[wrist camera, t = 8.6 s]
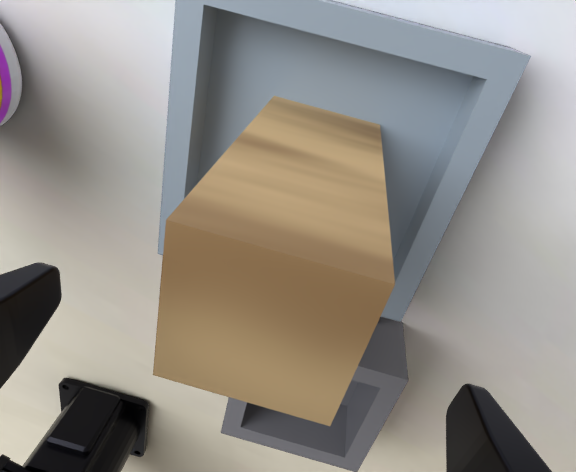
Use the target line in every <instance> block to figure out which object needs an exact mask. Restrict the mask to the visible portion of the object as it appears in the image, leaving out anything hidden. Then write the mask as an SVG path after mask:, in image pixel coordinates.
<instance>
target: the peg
mask: <svg viewBox="0 0 576 472" xmlns="http://www.w3.org/2000/svg"><path fill="white" fill-rule="evenodd" d="M394 286H395V278H394V267H393V257H392V246H391V235H390V225H389V214H388V204H387V193H386V182H385V172H384V161H383V151H382V140H381V129H380V125H379V124H376V123H372V122H368V121H365V120H361V119H357V118H354V117H350V116H347V115H343V114H339V113H336V112H332V111H328V110H325V109H321V108H317V107H314V106H310V105H306V104H303V103H299V102H295V101H292V100H288V99H284V98H281V97H277V96H273V98H272V99H271V100H270V101H269V102H268V103H267V104H266V106H265V107H264V108H263V109H262V110H261V111H260V112H259V114H258V115H257V116H256V117H255V118H254V119H253V121H252V122H251V123H250V124H249V125H248V126H247V127H246V129H245V130H244V131H243V132H242V133H241V134H240V135H239V137H238V138H237V139H236V140H235V141H234V142H233V143H232V145H231V146H230V147H229V148H228V149H227V150H226V152H225V153H224V154H223V155H222V156H221V157H220V158H219V160H218V161H217V162H216V163H215V164H214V165H213V166H212V168H211V169H210V170H209V171H208V172H207V173H206V175H205V176H204V177H203V178H202V179H201V180H200V181H199V183H198V184H197V185H196V186H195V187H194V188H193V189H192V191H191V192H190V193H189V194H188V195H187V196H186V197H185V199H184V200H183V201H182V202H181V203H180V204H179V206H178V207H177V208H176V209H175V210H174V211H173V212H172V214H171V215H170V216H169V217H168V218H167V219H166V226H165V238H164V250H163V262H162V274H161V286H160V298H159V310H158V322H157V333H156V345H155V357H154V369H153V375H155V376H158V377H162V378H165V379H169V380H172V381H175V382H179V383H182V384H186V385H189V386H193V387H196V388H200V389H203V390H206V391H210V392H213V393H217V394H220V395H224V396H227V397H231V398H234V399H237V400H241V401H244V402H248V403H251V404H255V405H258V406H262V407H265V408H268V409H272V410H275V411H279V412H282V413H286V414H289V415H293V416H296V417H299V418H303V419H306V420H310V421H313V422H317V423H320V424H324V425H327V426H331V423H332V421H333V419H334V417H335V415H336V412H337V410H338V408H339V406H340V404H341V402H342V399H343V397H344V395H345V393H346V391H347V388H348V386H349V384H350V382H351V380H352V378H353V375H354V373H355V371H356V369H357V367H358V364H359V362H360V360H361V358H362V356H363V354H364V351H365V349H366V347H367V345H368V343H369V340H370V338H371V336H372V334H373V332H374V330H375V327H376V325H377V323H378V321H379V319H380V316H381V314H382V312H383V310H384V308H385V305H386V303H387V301H388V299H389V297H390V295H391V292H392V290H393V288H394Z"/></svg>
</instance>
